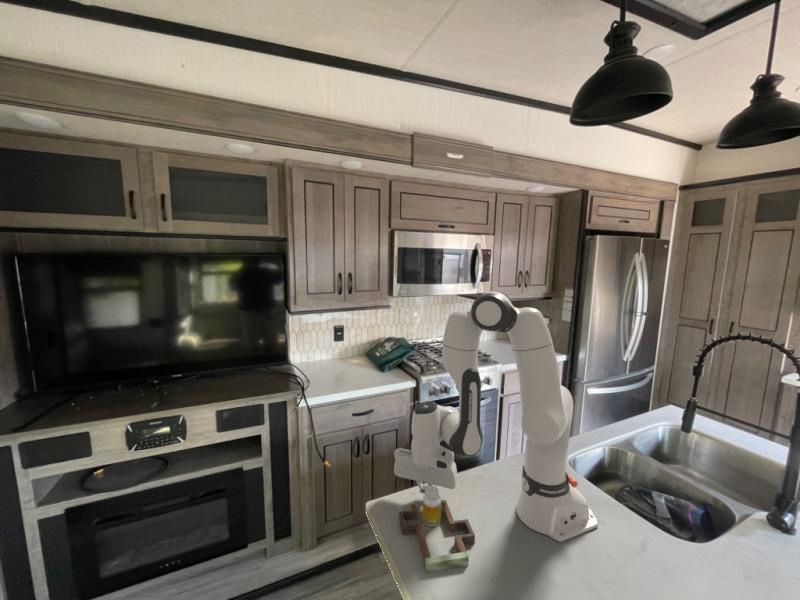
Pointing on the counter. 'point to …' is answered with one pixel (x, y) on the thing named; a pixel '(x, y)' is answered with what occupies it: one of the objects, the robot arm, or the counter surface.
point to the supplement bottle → (431, 506)
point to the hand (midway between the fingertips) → (424, 492)
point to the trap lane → (460, 540)
